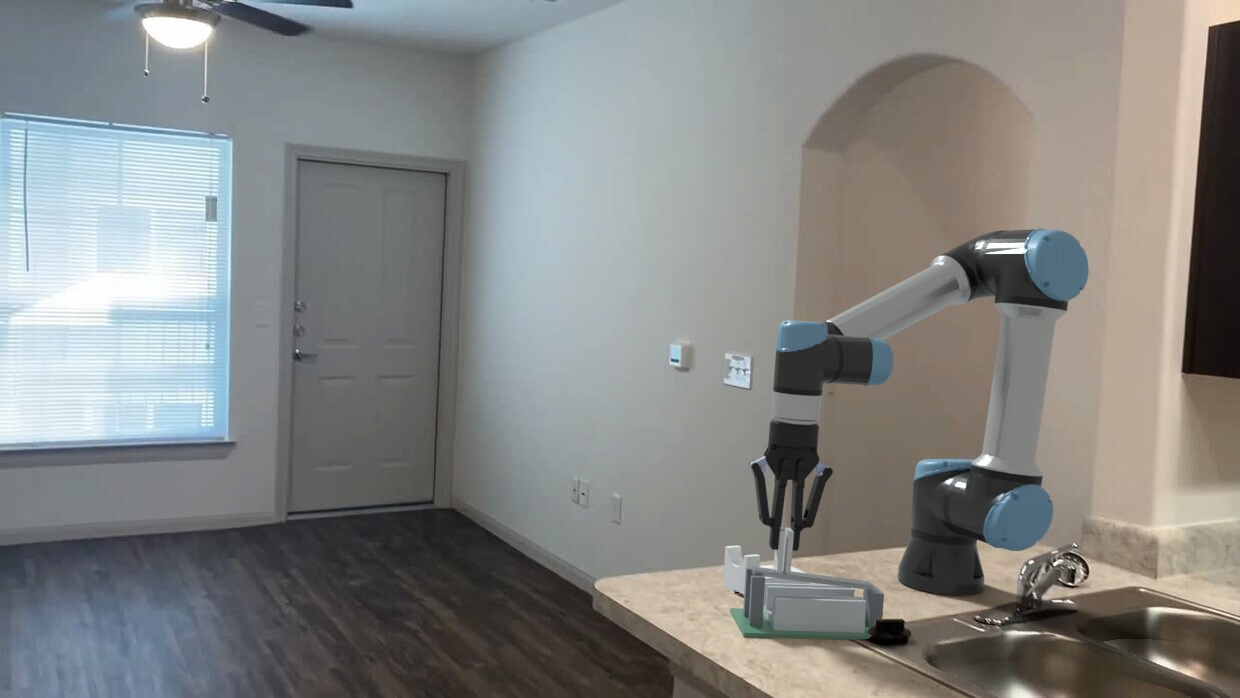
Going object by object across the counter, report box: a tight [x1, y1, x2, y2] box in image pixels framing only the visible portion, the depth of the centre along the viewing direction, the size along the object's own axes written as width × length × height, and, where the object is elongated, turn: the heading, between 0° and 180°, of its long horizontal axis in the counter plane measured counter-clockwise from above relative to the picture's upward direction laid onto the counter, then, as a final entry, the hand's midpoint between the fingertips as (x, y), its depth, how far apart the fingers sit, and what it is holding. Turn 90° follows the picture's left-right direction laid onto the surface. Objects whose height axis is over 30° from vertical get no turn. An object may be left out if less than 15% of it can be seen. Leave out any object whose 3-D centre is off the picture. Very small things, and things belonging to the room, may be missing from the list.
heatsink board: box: [729, 568, 885, 640], centre depth 168 cm, size 23×12×8 cm, turn 94°
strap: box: [751, 566, 874, 590], centre depth 167 cm, size 19×2×1 cm, turn 94°
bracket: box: [722, 545, 810, 596], centre depth 186 cm, size 13×7×8 cm, turn 115°
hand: (781, 570), depth 167 cm, fingers closed
